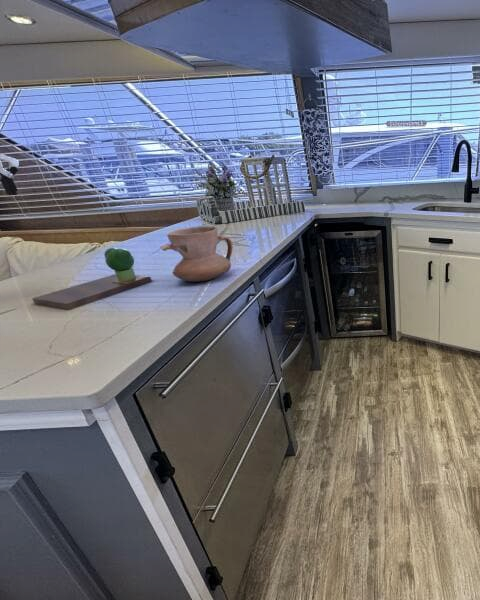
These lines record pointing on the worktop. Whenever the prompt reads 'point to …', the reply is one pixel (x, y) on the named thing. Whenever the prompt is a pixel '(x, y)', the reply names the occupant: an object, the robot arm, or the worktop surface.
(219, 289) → the worktop surface
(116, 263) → the broccoli
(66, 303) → the cutting board
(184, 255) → the ceramic jug
